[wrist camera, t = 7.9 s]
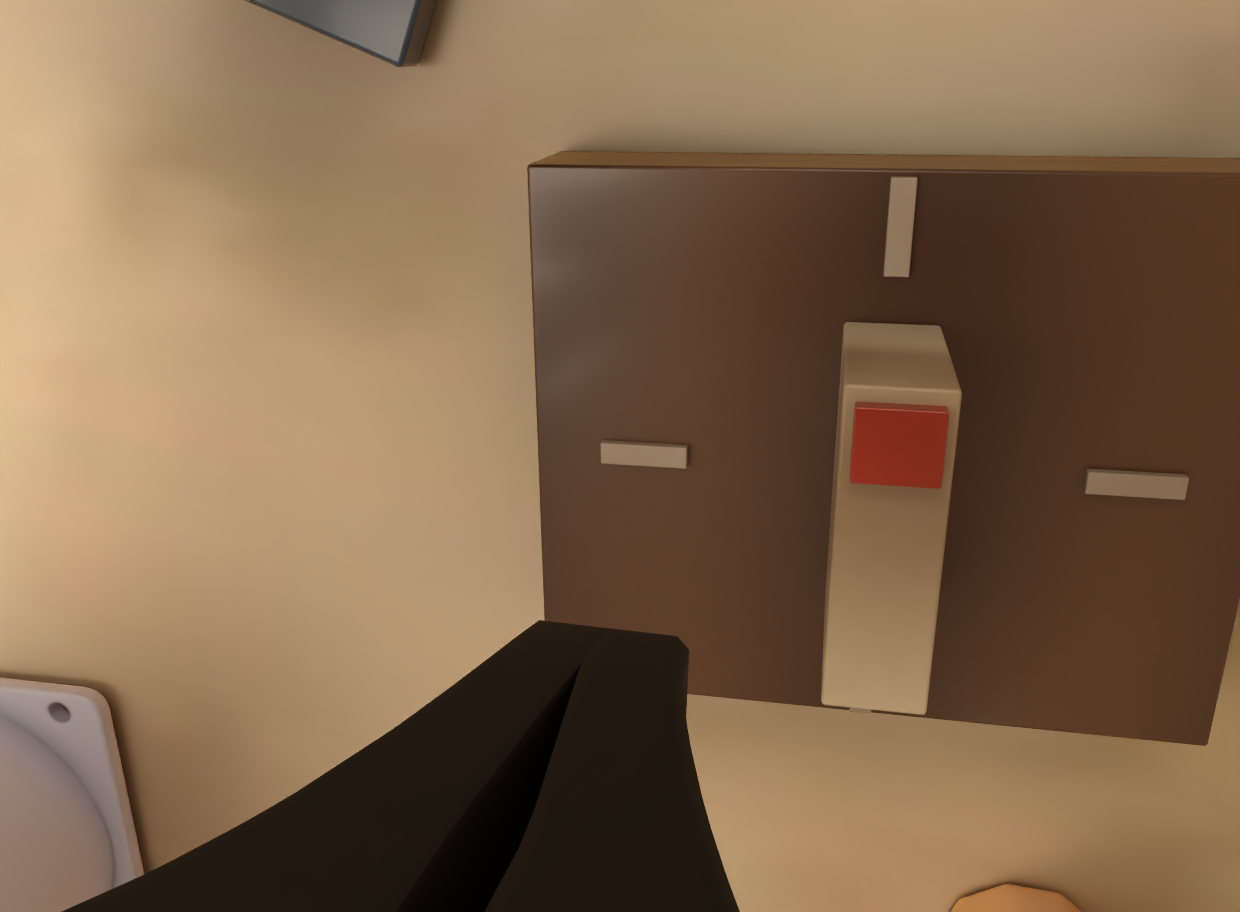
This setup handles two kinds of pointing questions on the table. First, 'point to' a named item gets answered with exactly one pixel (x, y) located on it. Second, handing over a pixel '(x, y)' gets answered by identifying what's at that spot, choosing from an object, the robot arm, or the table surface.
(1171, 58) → the table surface
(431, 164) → the table surface
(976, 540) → the block
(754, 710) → the table surface
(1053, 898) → the milkshake
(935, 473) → the beige slab
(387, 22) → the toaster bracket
